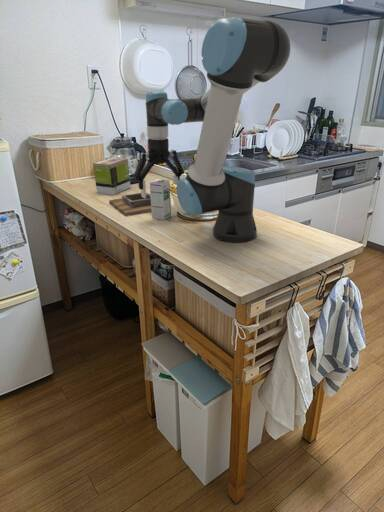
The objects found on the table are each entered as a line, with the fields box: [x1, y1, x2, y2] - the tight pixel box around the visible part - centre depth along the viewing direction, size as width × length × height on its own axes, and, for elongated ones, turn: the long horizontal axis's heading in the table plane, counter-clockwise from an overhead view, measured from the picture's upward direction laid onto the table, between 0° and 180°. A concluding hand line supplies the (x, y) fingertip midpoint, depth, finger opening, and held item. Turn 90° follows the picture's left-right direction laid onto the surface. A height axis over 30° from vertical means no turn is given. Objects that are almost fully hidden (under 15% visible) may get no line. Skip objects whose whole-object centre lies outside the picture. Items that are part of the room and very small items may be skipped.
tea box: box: [92, 157, 132, 196], centre depth 182 cm, size 15×10×15 cm, turn 154°
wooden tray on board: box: [108, 192, 152, 217], centre depth 161 cm, size 20×20×4 cm
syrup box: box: [149, 178, 172, 221], centre depth 145 cm, size 6×6×14 cm
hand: (160, 194), depth 145 cm, fingers open, 13 cm apart
